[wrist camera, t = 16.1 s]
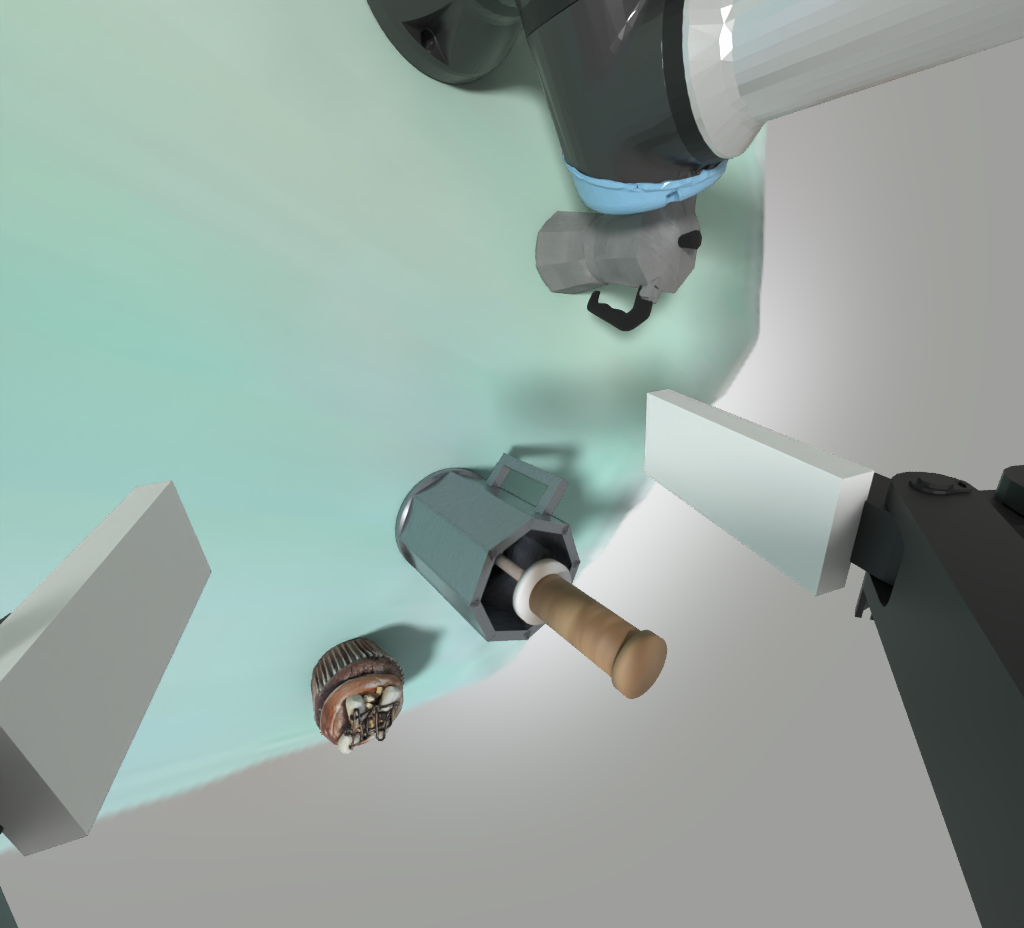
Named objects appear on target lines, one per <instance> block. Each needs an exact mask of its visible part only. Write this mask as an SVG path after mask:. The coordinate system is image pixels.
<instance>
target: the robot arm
mask: <svg viewBox="0 0 1024 928" xmlns="http://www.w3.org/2000/svg"><path fill="white" fill-rule="evenodd" d="M367 2H368V4H369V6H370V8H371V11H372V13H373V14H374V16H375V18H376V20H377V22H378V23H379V25H380V27H381V28H382V30H383V31H384V33H385V34H386V36H387V37H388V39H389V40H390V41H391V43H392V44H393V45H394V46H395V48H396V49H397V50H398V51H399V52H400V53H401V54H402V55H403V56H404V57H405V58H406V59H407V60H408V61H409V62H410V63H411V64H412V65H414V66H415V67H416V68H417V69H419V70H420V71H422V72H423V73H425V74H427V75H428V76H430V77H432V78H434V79H437V80H439V81H442V82H446V83H452V84H465V83H469V82H473V81H475V80H477V79H479V78H481V77H483V76H484V75H485V74H487V73H488V72H490V71H491V70H493V69H494V68H495V67H497V66H498V65H499V64H500V63H501V62H502V61H503V60H504V58H505V57H506V56H507V55H508V53H509V52H510V50H511V48H512V47H513V45H514V43H515V41H516V39H517V37H518V35H519V33H520V32H521V30H522V28H523V27H524V31H525V34H526V37H527V41H528V44H529V47H530V50H531V54H532V57H533V60H534V63H535V66H536V69H537V72H538V75H539V79H540V82H541V85H542V88H543V91H544V94H545V97H546V101H547V104H548V107H549V110H550V113H551V116H552V119H553V122H554V126H555V129H556V132H557V135H558V138H559V141H560V144H561V148H562V151H563V152H562V157H563V161H564V164H566V167H567V169H568V170H569V171H570V173H571V175H572V178H573V181H574V183H575V186H576V189H577V192H578V194H579V197H580V198H581V200H582V201H583V202H584V203H585V205H587V206H588V207H589V208H590V209H592V210H594V211H596V212H599V213H603V214H610V215H624V214H634V213H641V212H646V211H651V210H655V209H659V208H662V207H664V206H666V204H668V203H669V202H674V201H682V200H684V199H687V198H689V197H692V196H694V195H696V194H698V193H700V192H702V191H703V190H705V189H707V188H708V187H710V186H711V185H712V184H714V183H715V182H716V181H717V180H718V179H719V178H720V177H721V176H722V174H723V173H724V172H725V169H726V166H727V161H728V159H731V158H734V157H737V156H739V155H741V154H742V153H744V152H745V151H746V150H747V148H748V147H749V146H750V144H751V143H752V141H753V140H754V138H755V137H756V135H757V134H758V132H759V131H760V129H761V128H762V126H763V125H764V124H765V123H766V122H767V121H769V120H772V119H775V118H778V117H781V116H784V115H788V114H791V113H794V112H797V111H800V110H803V109H806V108H809V107H812V106H815V105H818V104H821V103H825V102H828V101H831V100H834V99H836V98H840V97H843V96H846V95H849V94H852V93H855V92H858V91H861V90H864V89H868V88H871V87H874V86H877V85H880V84H883V83H886V82H889V81H892V80H895V79H898V78H901V77H904V76H907V75H910V74H913V73H917V72H920V71H923V70H926V69H929V68H932V67H935V66H938V65H941V64H944V63H947V62H950V61H954V60H956V59H959V58H962V57H966V56H969V55H972V54H975V53H978V52H981V51H984V50H987V49H990V48H993V47H997V46H1000V45H1003V44H1006V43H1009V42H1012V41H1015V40H1018V39H1021V38H1024V0H367ZM644 473H645V474H647V475H648V476H650V477H651V478H652V479H654V480H655V481H656V482H658V483H659V484H661V485H662V486H663V487H665V488H666V489H668V490H669V491H670V492H672V493H673V494H674V495H676V496H677V497H679V498H680V499H681V500H683V501H684V502H686V503H687V504H688V505H690V506H691V507H693V508H694V509H695V510H697V511H698V512H699V513H701V514H702V515H704V516H705V517H706V518H708V519H709V520H710V521H712V522H713V523H715V524H716V525H717V526H719V527H720V528H722V529H723V530H725V531H726V532H727V533H728V534H730V535H731V536H733V537H734V538H735V539H737V540H738V541H740V542H741V543H742V544H744V545H745V546H746V547H748V548H749V549H751V550H752V551H753V552H755V553H756V554H758V555H759V556H760V557H762V558H763V559H765V560H766V561H767V562H769V563H770V564H771V565H773V566H774V567H776V568H777V569H778V570H780V571H781V572H783V573H784V574H785V575H787V576H788V577H790V578H791V579H792V580H794V581H795V582H796V583H798V584H799V585H801V586H802V587H803V588H805V589H806V590H808V591H809V592H810V593H812V594H813V595H815V596H819V595H822V594H824V593H827V592H831V591H834V590H837V589H840V588H843V587H845V583H846V579H847V575H848V571H849V568H850V564H851V562H852V563H853V564H855V565H857V566H858V567H860V568H862V569H864V570H865V571H866V573H865V576H864V580H863V584H862V588H861V591H860V594H859V598H858V602H857V605H856V609H855V617H860V618H861V617H862V613H863V610H865V609H867V608H868V607H870V610H871V613H872V614H871V618H870V619H871V620H874V621H875V624H876V627H877V630H878V633H879V635H880V638H881V641H882V644H883V647H884V650H885V653H886V655H887V658H888V661H889V664H890V667H891V670H892V672H893V675H894V678H895V681H896V684H897V687H898V690H899V692H900V695H901V698H902V701H903V703H904V707H905V709H906V712H907V715H908V718H909V721H910V723H911V726H912V729H913V732H914V735H915V738H916V740H917V744H918V746H919V749H920V752H921V755H922V758H923V760H924V763H925V766H926V769H927V772H928V775H929V777H930V780H931V783H932V786H933V789H934V792H935V794H936V798H937V800H938V803H939V806H940V809H941V812H942V815H943V817H944V820H945V823H946V826H947V829H948V832H949V835H950V837H951V840H952V843H953V846H954V849H955V851H956V854H957V857H958V860H959V863H960V866H961V869H962V871H963V874H964V877H965V880H966V883H967V885H968V888H969V891H970V894H971V897H972V900H973V903H974V905H975V908H976V911H977V914H978V917H979V920H980V923H981V925H982V928H1024V465H1019V466H1011V467H1009V468H1006V469H1004V471H1003V474H1002V476H1001V479H1000V482H999V484H998V487H997V489H996V490H984V491H978V490H977V489H976V488H974V487H973V486H971V485H970V484H968V483H967V482H965V481H962V480H958V479H956V478H952V477H948V476H945V475H941V474H936V473H927V472H905V473H900V474H896V475H895V476H894V477H892V479H889V478H887V477H884V476H882V475H880V474H877V473H875V472H874V470H871V469H869V468H866V467H864V466H861V465H859V464H856V463H854V462H851V461H849V460H846V459H844V458H841V457H839V456H836V455H834V454H831V453H829V452H826V451H824V450H821V449H819V448H816V447H814V446H811V445H809V444H806V443H804V442H801V441H799V440H796V439H794V438H791V437H788V436H786V435H783V434H781V433H778V432H776V431H773V430H771V429H768V428H766V427H763V426H761V425H758V424H756V423H753V422H751V421H748V420H746V419H743V418H741V417H738V416H736V415H733V414H731V413H728V412H726V411H723V410H721V409H718V408H716V407H713V406H711V405H708V404H706V403H703V402H700V401H698V400H695V399H693V398H690V397H688V396H685V395H683V394H680V393H678V392H675V391H673V390H670V389H665V390H660V391H654V392H649V393H647V410H646V441H645V471H644ZM211 572H212V571H211V569H210V567H209V564H208V562H207V560H206V557H205V555H204V553H203V550H202V548H201V546H200V544H199V541H198V539H197V537H196V534H195V532H194V530H193V527H192V525H191V523H190V520H189V518H188V516H187V514H186V511H185V509H184V507H183V504H182V502H181V500H180V497H179V495H178V493H177V490H176V488H175V486H174V484H173V481H172V480H170V481H164V482H159V483H153V484H148V485H142V486H137V487H135V488H134V489H133V490H132V492H131V493H130V494H129V495H128V496H127V497H126V498H125V499H124V500H123V501H122V502H121V503H120V504H119V505H118V506H117V507H116V508H115V509H114V510H113V511H112V512H111V513H110V514H109V515H108V516H107V517H106V518H105V519H104V520H103V521H102V522H101V523H100V524H99V525H98V526H97V527H96V528H95V529H94V530H93V531H92V532H91V533H90V534H89V535H88V536H87V537H86V538H85V539H84V540H83V541H82V542H81V543H80V544H79V545H78V546H77V547H76V548H75V549H74V550H73V551H72V552H71V553H70V554H69V555H68V556H67V557H66V558H65V559H64V560H63V561H62V563H61V564H60V565H59V566H58V567H57V568H56V569H55V570H54V571H53V572H52V573H51V574H50V575H49V576H48V577H47V578H46V579H45V580H44V581H43V582H42V583H41V584H40V585H39V586H38V587H37V588H36V589H35V590H34V591H33V592H32V593H31V594H30V595H29V596H28V597H27V598H26V599H25V600H24V601H23V602H22V603H21V604H20V605H19V606H18V607H17V608H16V609H15V610H14V611H13V612H12V613H9V614H8V615H7V616H5V617H4V618H2V619H1V620H0V834H1V833H2V832H3V833H4V835H5V836H6V837H7V838H8V839H9V840H10V841H11V842H12V843H13V844H14V845H15V847H16V848H17V849H18V850H19V851H20V852H21V853H22V854H23V855H24V856H27V855H31V854H34V853H37V852H40V851H43V850H46V849H49V848H52V847H55V846H58V845H61V844H64V843H67V842H70V841H73V840H76V839H79V838H82V837H85V836H88V834H89V832H90V830H91V828H92V826H93V824H94V822H95V819H96V817H97V815H98V813H99V811H100V809H101V807H102V805H103V802H104V800H105V798H106V796H107V794H108V792H109V790H110V787H111V785H112V783H113V781H114V779H115V777H116V775H117V773H118V770H119V768H120V766H121V764H122V762H123V760H124V758H125V755H126V753H127V751H128V749H129V747H130V745H131V743H132V740H133V738H134V736H135V734H136V732H137V730H138V728H139V726H140V723H141V721H142V719H143V717H144V715H145V713H146V711H147V708H148V706H149V704H150V702H151V700H152V698H153V696H154V693H155V691H156V689H157V687H158V685H159V683H160V681H161V679H162V676H163V674H164V672H165V670H166V668H167V666H168V664H169V661H170V659H171V657H172V655H173V653H174V651H175V649H176V647H177V644H178V642H179V640H180V638H181V636H182V634H183V632H184V629H185V627H186V625H187V623H188V621H189V619H190V617H191V614H192V612H193V610H194V608H195V606H196V604H197V602H198V600H199V597H200V595H201V593H202V591H203V589H204V587H205V585H206V582H207V580H208V578H209V576H210V574H211ZM0 928H18V926H17V924H16V922H15V920H14V917H13V915H12V913H11V910H10V908H9V906H8V903H7V901H6V899H5V896H4V894H3V892H2V889H1V887H0Z"/></svg>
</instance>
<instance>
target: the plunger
mask: <svg viewBox="0 0 1024 928" xmlns="http://www.w3.org/2000/svg"><path fill="white" fill-rule="evenodd" d="M502 553H503V552H501V553H500V554H499V555H498V556H496V558H495V560H494V563H493V565H494V564H496V565H497V566H499V567H500V568H501V569H503V570H504V571H505V572H507V573H508V574H509V575H511V576H512V577H513V578H514V579H516V580H517V581H518V582H517V585H516V587H515V590H514V594H513V607H514V610H515V612H516V614H517V615H518V616H519V617H520V618H522V619H523V620H524V621H525V622H526V623H528V624H530V625H540V624H543V623H546V624H547V625H548V626H549V627H551V628H552V629H553V630H554V631H556V632H557V633H558V634H559V635H560V636H562V637H563V638H564V639H565V640H567V641H568V642H569V643H571V644H572V645H573V646H574V647H575V648H577V649H578V650H579V651H580V652H581V653H582V654H584V655H585V656H586V657H587V658H589V659H590V660H591V661H592V662H593V663H595V664H596V665H597V666H598V667H599V668H601V669H602V670H603V671H604V672H606V673H607V674H608V675H609V676H610V677H612V683H613V685H614V687H615V688H616V689H617V690H619V691H620V692H621V693H622V694H623V695H625V696H626V697H627V698H629V699H634V698H637V697H639V696H641V695H643V694H644V693H645V692H646V691H647V690H648V689H649V688H650V687H651V686H652V685H653V684H654V682H655V681H656V679H657V678H658V676H659V674H660V672H661V670H662V668H663V666H664V663H665V660H666V655H667V646H666V642H665V641H664V640H663V639H662V638H660V637H659V636H657V635H656V634H654V633H653V632H651V631H649V630H643V631H640V630H639V629H637V628H636V627H634V626H633V625H631V624H630V623H628V622H627V621H625V620H624V619H622V618H621V617H619V616H618V615H617V614H615V613H614V612H612V611H611V610H609V609H607V608H606V607H605V606H603V605H602V604H600V603H599V602H597V601H596V600H594V599H593V598H591V597H590V596H588V595H587V594H585V593H584V592H582V591H581V590H580V589H578V588H577V587H575V586H574V585H572V584H571V575H570V572H569V570H568V569H567V568H566V567H565V566H564V565H562V564H561V563H559V562H558V561H556V560H554V559H542V560H540V561H537V562H536V563H534V564H532V565H531V566H530V567H529V568H528V569H527V570H526V571H525V570H524V569H522V568H521V567H519V566H518V565H517V564H515V563H514V562H513V561H511V560H510V559H508V558H507V557H506V556H504V555H503V554H502Z"/></svg>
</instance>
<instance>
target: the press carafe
mask: <svg viewBox="0 0 1024 928" xmlns="http://www.w3.org/2000/svg"><path fill="white" fill-rule="evenodd" d="M510 469H511V470H513V471H516V472H518V473H520V474H522V475H524V476H526V477H528V478H530V479H533V480H535V481H537V482H539V483H541V484H543V485H545V486H547V489H546V491H545V492H544V494H543V496H542V498H541V499H540V501H539V503H538V504H537V506H534V505H532V504H530V503H528V502H526V501H524V500H522V499H521V498H519V497H517V496H515V495H513V494H511V493H509V492H508V491H506V490H504V489H502V488H500V486H501V485H502V483H503V481H504V480H505V478H506V476H507V474H508V473H509V471H510ZM568 484H569V483H568V482H566V481H565V480H564V479H562V478H560V477H558V476H556V475H553V474H551V473H549V472H546V471H544V470H542V469H539V468H537V467H535V466H533V465H530V464H528V463H526V462H523V461H521V460H519V459H516V458H514V457H512V456H509V455H507V454H505V453H503V455H502V457H501V459H500V460H499V462H497V464H496V466H495V467H494V469H493V471H492V473H491V474H490V476H489V478H488V479H487V480H485V479H483V478H482V477H480V476H479V475H477V474H475V473H473V472H471V471H469V470H466V469H461V468H448V469H443V470H439V471H437V472H434V473H432V474H430V475H429V476H427V477H425V478H424V479H422V480H421V481H420V482H419V483H418V484H416V485H415V486H414V487H413V489H412V490H411V491H410V492H409V493H408V495H407V496H406V498H405V499H404V501H403V503H402V505H401V507H400V509H399V512H398V515H397V519H396V526H395V536H396V542H397V545H398V548H399V550H400V552H401V554H402V555H403V557H404V558H405V559H406V560H407V561H408V562H409V563H410V564H411V565H412V566H413V567H414V568H416V570H417V571H418V572H419V573H420V574H421V575H422V576H423V577H424V578H425V579H426V580H427V581H428V582H429V583H430V584H431V585H432V586H433V587H434V588H435V589H436V590H437V591H438V592H439V593H440V594H441V595H442V596H443V597H444V598H445V599H446V600H447V601H448V602H449V603H450V604H451V605H452V606H453V607H454V608H455V609H456V610H457V611H458V612H459V613H460V614H461V616H462V617H463V618H464V619H465V620H466V621H467V622H468V623H469V624H470V625H471V626H472V627H473V628H474V629H475V630H476V631H477V632H478V633H479V634H480V635H481V636H482V637H483V638H484V639H485V640H486V641H488V642H489V641H508V640H528V639H529V638H530V637H531V636H532V635H533V634H534V633H535V632H536V631H537V630H539V629H540V628H541V627H542V626H543V625H544V624H545V623H543V624H540V625H530V624H528V623H526V622H525V621H524V620H523V619H522V618H520V617H519V616H518V615H517V614H516V612H515V610H514V607H513V594H514V590H515V587H516V585H517V582H518V581H517V580H516V579H514V578H513V577H512V576H511V575H509V574H508V573H507V572H505V571H504V570H503V569H501V568H500V567H499V566H497V565H496V564H494V565H493V563H494V560H495V558H496V556H498V555H499V554H500V553H501V552H503V553H502V554H503V555H504V556H506V557H507V558H508V559H510V560H511V561H513V562H514V563H515V564H517V565H518V566H519V567H521V568H522V569H524V570H525V571H526V570H527V569H528V568H529V567H530V566H531V565H532V564H534V563H536V562H537V561H540V560H542V559H554V560H556V561H558V562H559V563H561V564H562V565H564V566H565V567H566V568H567V569H568V570H569V572H570V575H571V584H572V583H573V580H574V577H575V574H576V572H577V569H578V566H579V564H580V560H579V557H578V553H577V550H576V547H575V544H574V540H573V537H572V534H571V531H570V527H569V524H567V523H565V522H563V521H562V520H560V519H558V518H556V517H554V516H552V515H551V514H552V513H553V511H554V509H555V508H556V506H557V504H558V502H559V501H560V499H561V497H562V495H563V492H564V491H565V489H566V487H567V485H568Z"/></svg>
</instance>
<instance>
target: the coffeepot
mask: <svg viewBox="0 0 1024 928" xmlns="http://www.w3.org/2000/svg"><path fill="white" fill-rule="evenodd" d="M696 196H697V194H696V195H694V196H692V197H689V198H687V199H684V200H682V201H674V202H669V203H668V204H666V206H664V207H662V208H659V209H655V210H651V211H646V212H641V213H634V214H624V215H610V214H607V215H604V214H598V213H581V212H562V211H557V212H556V213H555V214H554V215H553V216H552V217H551V218H550V219H549V220H548V221H547V222H546V223H545V224H544V226H543V227H542V229H541V230H540V231H539V232H538V237H537V242H536V250H535V251H536V267H537V270H538V272H539V274H540V276H541V278H542V280H543V281H544V283H545V284H546V285H547V286H548V287H549V289H550V291H551V292H558V293H568V294H575V293H579V292H583V291H586V290H590V289H594V288H597V287H601V286H605V285H608V284H609V283H611V284H617V285H624V286H630V287H636V288H639V289H638V292H637V295H636V299H635V303H634V306H633V309H632V310H631V311H630V312H628V313H625V312H624V311H622V310H619V309H613V308H611V307H610V306H609V305H608V304H605V303H598V299H599V295H600V291H595V292H593V293H592V295H591V297H590V299H589V302H588V305H587V309H588V311H590V312H591V313H593V314H594V315H596V316H598V317H600V318H601V319H603V320H605V321H606V322H608V323H610V324H612V325H613V326H615V327H616V328H618V329H619V330H622V331H630V330H632V329H634V328H636V327H637V326H638V325H640V324H641V323H642V322H644V321H645V320H646V319H648V317H649V316H650V313H651V309H652V304H656V301H657V299H658V296H659V294H660V292H668V293H675V292H676V291H677V290H678V288H679V287H680V286H681V285H682V283H683V282H684V281H685V279H686V278H687V277H688V275H689V274H690V273H691V272H692V270H693V269H694V266H695V259H696V253H697V249H698V248H699V246H700V245H701V240H702V236H701V233H700V227H699V224H698V221H697V217H696V214H695V211H694V210H695V203H696Z"/></svg>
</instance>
